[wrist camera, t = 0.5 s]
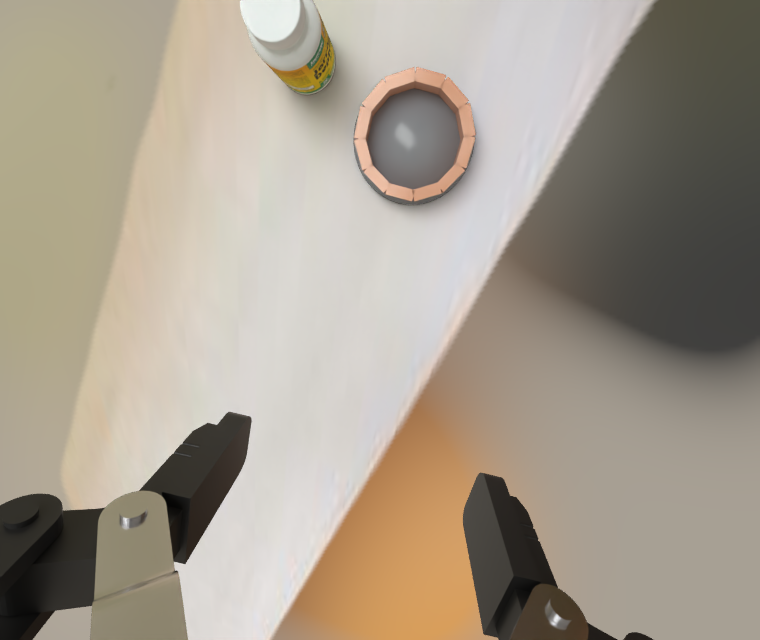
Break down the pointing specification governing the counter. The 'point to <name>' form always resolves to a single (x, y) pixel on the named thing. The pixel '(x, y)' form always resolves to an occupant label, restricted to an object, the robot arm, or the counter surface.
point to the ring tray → (414, 136)
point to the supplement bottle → (291, 41)
